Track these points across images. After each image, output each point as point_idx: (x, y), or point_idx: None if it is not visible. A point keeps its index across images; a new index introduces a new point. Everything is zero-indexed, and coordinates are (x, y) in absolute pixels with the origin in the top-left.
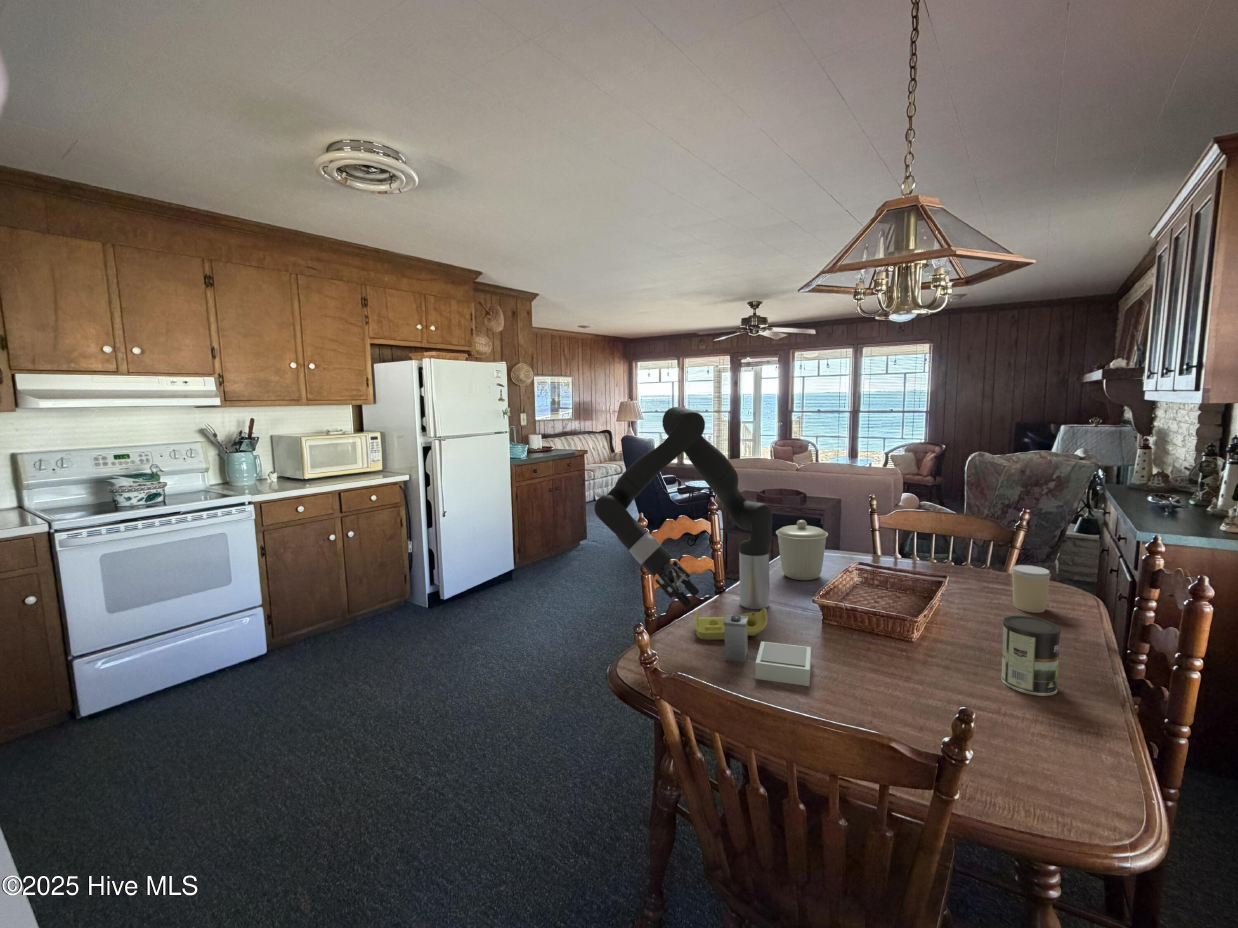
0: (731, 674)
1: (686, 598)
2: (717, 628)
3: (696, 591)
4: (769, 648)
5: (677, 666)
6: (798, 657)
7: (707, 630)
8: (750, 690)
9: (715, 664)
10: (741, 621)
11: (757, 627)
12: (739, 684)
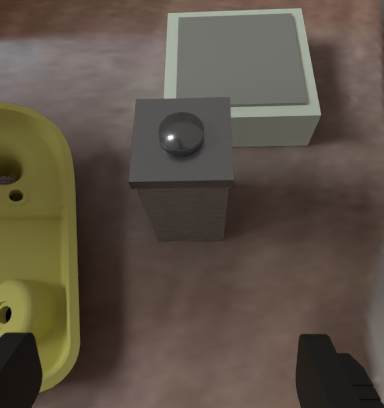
0: (312, 206)
1: (346, 384)
2: (34, 290)
3: (26, 355)
4: (217, 90)
5: None
6: (249, 27)
7: (36, 335)
8: (376, 149)
9: (267, 263)
10: (199, 114)
11: (37, 147)
12: (359, 178)
